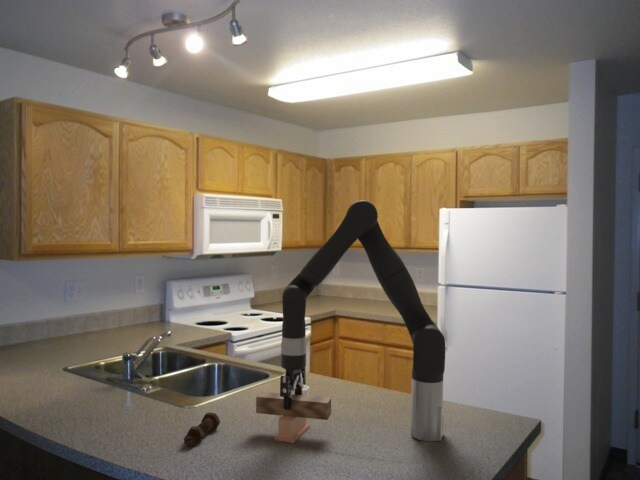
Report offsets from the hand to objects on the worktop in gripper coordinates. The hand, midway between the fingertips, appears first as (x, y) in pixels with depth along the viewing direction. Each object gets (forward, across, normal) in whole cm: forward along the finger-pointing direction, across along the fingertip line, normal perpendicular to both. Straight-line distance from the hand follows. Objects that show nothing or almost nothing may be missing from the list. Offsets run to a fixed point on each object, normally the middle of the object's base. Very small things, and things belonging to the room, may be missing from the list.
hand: (293, 405), depth 159 cm
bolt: (+9, -13, +24) cm, 29 cm away
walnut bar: (+3, 0, 0) cm, 3 cm away
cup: (+9, +19, +7) cm, 22 cm away
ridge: (+9, 0, 0) cm, 9 cm away
